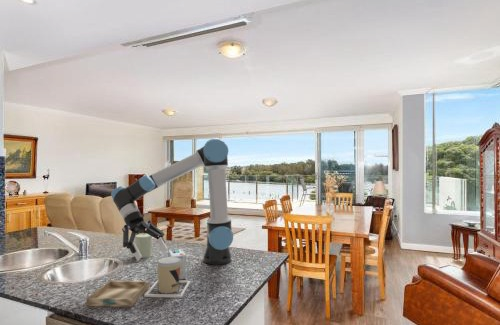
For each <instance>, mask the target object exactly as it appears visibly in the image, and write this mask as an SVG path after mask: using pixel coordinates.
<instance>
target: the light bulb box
mask: <svg viewBox="0 0 500 325" xmlns="http://www.w3.org/2000/svg"><path fill="white" fill-rule="evenodd" d="M167 252H168V254H167V255H168V256H167V257H178V258H180V260H181V263H180V276H179V280H184V279H185V280H186V265H187V263H186V262H187V261H186V260H187V259H186V258H187V255H186V253H185V251H184V250H183V248H179V249H169V250H167Z"/></svg>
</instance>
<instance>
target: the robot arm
mask: <svg viewBox="0 0 500 325" xmlns="http://www.w3.org/2000/svg"><path fill="white" fill-rule="evenodd" d="M228 155H229V147H228V145H227V143H226V142H225V141H224V140H222V139H220V138H211V139H208V140H207V141H206V143H205V144H204V145H203V146H201V147H200V148H199V149H197V150H196V151H195V153H193V154H191V155H189V156H187V157H185V158H183V159H181V160H179V161H177V162H175V163H173V164H171V165H169V166H166V167H165V168H162V169H160V170H158V171H156V172H154V173H152V174H150V175H148V174H146V175H143V176H142V177H140V178H139V179H137V180H136V181H134V182H133V183H131V184H130V185H128V186H127V187H126V186H124V185H121V186H118V187H115V188H114V189H113V190H112V191H111V193H110V196H111V198H112V201H113V203H114V205H115V206H116V208H117V210H118V211H119V213H120V215H121V217H122V220H123V221H124V223H125V224H124V226H123V227H122V228H121V231H122V232H123V234H122V248H126V249H127V250H129V251H130V253H131V254H133V255H134V258H135V259H136V261H137V262H138V261H140V260H141V259H142V258H141V257H142V255H141V253H140V252H139V250H138V248H137V246H136V244H135V243H134V242H135V236H136V235H138V234H149V235H150V236H152V238H154V239H156V242H157V243H158V245H159V247H160V249H161V251H162V253H163V254H165V253H166V252H167V251H168V249H169V248H168V247H167V245H166V242H165V239H164V236H165V233H164V232H163V231H162V230H161V229H159V227H157V226H156V225H155V224H153V221H152V220H148V221H146V222H145V220H144V217H143V214H142V213H141V212H140V209H139V208H138V205H137V204H136V203H135V202H136V201H137V200H139V199H140V198H142V197H143V196H145V195H146V194H148V193H150V192H153V191H155V190H156V189H158V188H160V187H162V186H163V185H166V184H167V183H168V184H169V183H170V182H173V181H174V180H176V179H178V178H180V177H183V176H184V175H186V174H188V173H190V172H192V171H194V170H197V169H198V168H200V167H204V168H206V170H207V177H208V179H207V180H208V194H209V196H208V197H209V211H210V212H209V214H210V217H209V218H208V219H207V220H206V228H207V229H206V248H205V251H204V255H203V262H204V263H205V264H208V265H215V266H216V265H225V264H228V263H231V261H232V254H231V250H230V246H231V245H232V243H233V240H234V234H233V231H232V228H233V227H232V219H231V218H230V217H229V214H228V212H229V211H228V197H227V181H226V179H227V178H226V168H228V166H229V165H228V164H229V163H228V162H229V161H228ZM129 231H131V232H129ZM129 233H131V234H129ZM129 236H130V238H129Z"/></svg>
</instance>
